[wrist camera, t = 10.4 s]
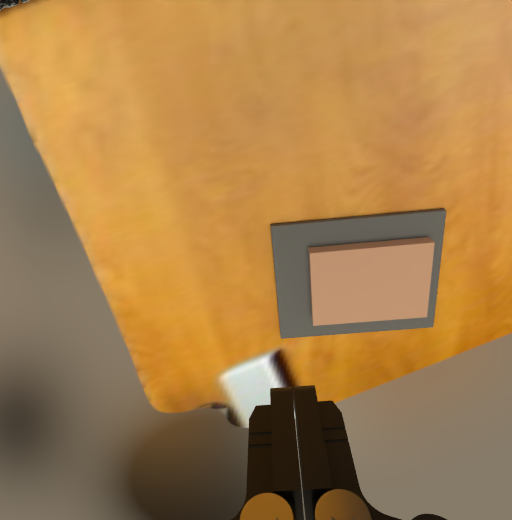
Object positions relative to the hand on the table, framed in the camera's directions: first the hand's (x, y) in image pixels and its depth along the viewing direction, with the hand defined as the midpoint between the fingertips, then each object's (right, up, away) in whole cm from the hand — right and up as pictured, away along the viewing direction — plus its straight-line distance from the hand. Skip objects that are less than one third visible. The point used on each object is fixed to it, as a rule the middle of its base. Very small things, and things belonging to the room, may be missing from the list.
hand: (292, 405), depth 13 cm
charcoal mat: (+11, +3, +35) cm, 37 cm away
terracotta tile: (+5, +2, +34) cm, 34 cm away
